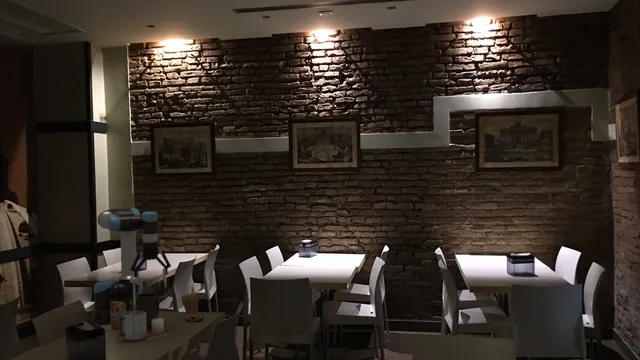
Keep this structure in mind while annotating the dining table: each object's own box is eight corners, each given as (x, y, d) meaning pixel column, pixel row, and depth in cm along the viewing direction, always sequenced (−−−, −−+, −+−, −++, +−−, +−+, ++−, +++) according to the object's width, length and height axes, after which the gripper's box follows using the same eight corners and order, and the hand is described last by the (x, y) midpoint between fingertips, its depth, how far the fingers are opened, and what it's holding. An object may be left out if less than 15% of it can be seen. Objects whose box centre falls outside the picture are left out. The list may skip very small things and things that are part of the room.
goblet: (124, 317, 281) (124, 277, 281) (140, 314, 285) (139, 275, 285) (128, 320, 274) (127, 279, 274) (144, 318, 279) (143, 277, 278)
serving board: (114, 340, 283) (114, 337, 283) (161, 332, 296) (161, 329, 296) (122, 348, 270) (122, 344, 270) (171, 339, 282) (171, 336, 282)
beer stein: (150, 334, 292) (151, 296, 293) (132, 333, 294) (132, 295, 295) (164, 328, 307) (165, 292, 308) (146, 328, 309) (147, 291, 310)
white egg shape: (150, 332, 291) (150, 319, 291) (161, 330, 294) (161, 317, 294) (153, 335, 286) (153, 321, 286) (165, 333, 289) (165, 319, 289)
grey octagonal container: (117, 338, 280) (116, 312, 280) (143, 334, 287) (142, 309, 287) (122, 343, 271) (121, 317, 271) (149, 339, 278) (148, 313, 278)
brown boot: (183, 316, 330) (182, 291, 330) (203, 315, 332) (203, 290, 332) (179, 322, 315) (179, 296, 315) (201, 321, 317) (200, 295, 317)
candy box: (110, 330, 302) (109, 302, 302) (117, 328, 306) (116, 300, 306) (120, 332, 297) (120, 304, 297) (127, 330, 301) (126, 302, 301)
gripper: (127, 244, 277) (128, 286, 277) (176, 240, 290) (177, 281, 291) (123, 243, 283) (124, 284, 284) (172, 239, 297) (172, 279, 297)
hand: (151, 283), depth 287 cm, fingers open, 13 cm apart
